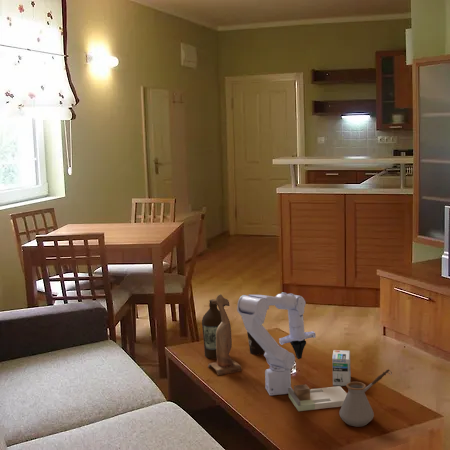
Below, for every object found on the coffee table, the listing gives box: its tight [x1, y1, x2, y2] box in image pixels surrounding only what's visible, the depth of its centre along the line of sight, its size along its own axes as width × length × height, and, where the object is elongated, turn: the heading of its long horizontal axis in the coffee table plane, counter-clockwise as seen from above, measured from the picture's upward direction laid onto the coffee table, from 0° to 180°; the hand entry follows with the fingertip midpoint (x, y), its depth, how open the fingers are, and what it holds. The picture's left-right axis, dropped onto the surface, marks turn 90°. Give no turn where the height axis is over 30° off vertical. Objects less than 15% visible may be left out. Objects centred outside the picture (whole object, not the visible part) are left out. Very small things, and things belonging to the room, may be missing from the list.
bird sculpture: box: [207, 293, 242, 376], centre depth 278 cm, size 11×12×32 cm
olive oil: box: [201, 298, 222, 360], centre depth 296 cm, size 11×11×25 cm
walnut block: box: [293, 383, 310, 401], centre depth 243 cm, size 5×5×4 cm
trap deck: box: [288, 385, 348, 412], centre depth 245 cm, size 20×13×4 cm, turn 100°
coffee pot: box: [338, 368, 393, 428], centre depth 229 cm, size 21×12×15 cm, turn 121°
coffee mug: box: [246, 330, 265, 356], centre depth 300 cm, size 12×9×10 cm
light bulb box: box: [331, 349, 352, 387], centre depth 262 cm, size 11×7×11 cm, turn 168°
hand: (299, 357), depth 263 cm, fingers closed
